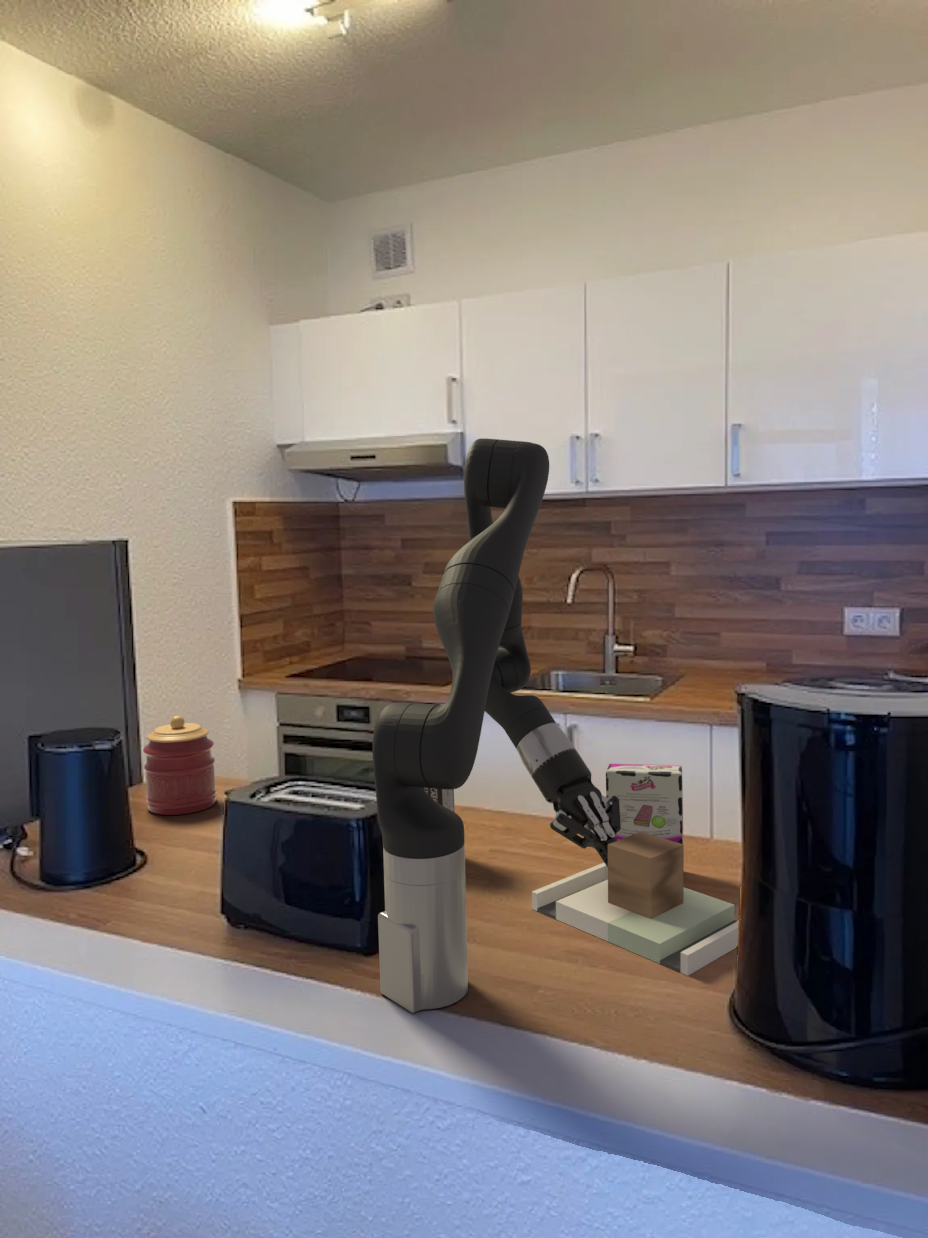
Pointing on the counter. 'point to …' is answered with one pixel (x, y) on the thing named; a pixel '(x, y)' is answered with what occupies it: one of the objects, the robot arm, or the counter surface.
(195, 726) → the canister
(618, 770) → the candy bar box
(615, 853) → the walnut block
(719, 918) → the platform
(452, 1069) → the counter surface
